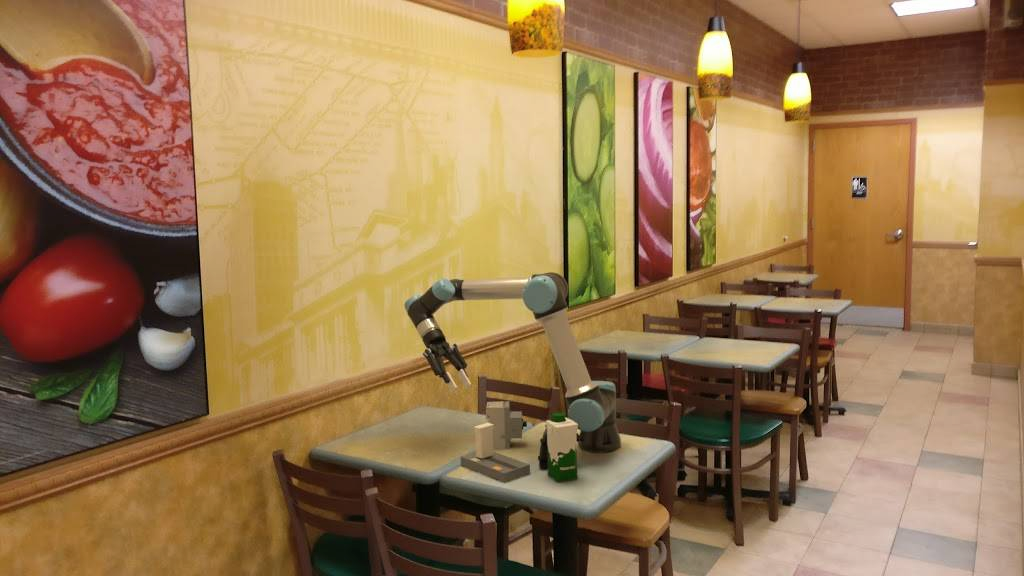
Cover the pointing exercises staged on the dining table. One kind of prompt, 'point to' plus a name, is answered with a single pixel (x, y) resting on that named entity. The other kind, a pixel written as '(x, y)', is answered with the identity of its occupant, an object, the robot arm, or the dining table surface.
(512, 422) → the circuit breaker
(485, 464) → the switch panel
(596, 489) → the dining table surface
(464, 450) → the dining table surface
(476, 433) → the cream rectangular box
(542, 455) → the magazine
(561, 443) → the milk carton
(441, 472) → the dining table surface
